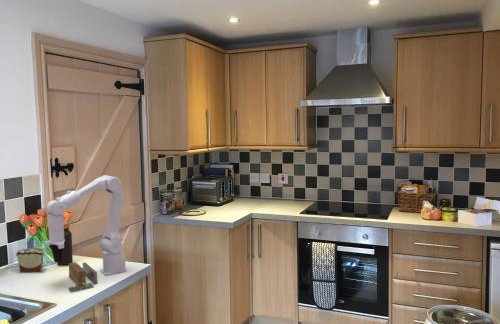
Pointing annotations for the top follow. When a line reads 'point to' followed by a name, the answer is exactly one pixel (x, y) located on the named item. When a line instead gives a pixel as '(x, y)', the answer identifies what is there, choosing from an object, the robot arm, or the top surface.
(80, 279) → the brown wooden block
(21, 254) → the food container
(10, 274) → the top surface
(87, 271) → the gauge frame
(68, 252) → the bottle
